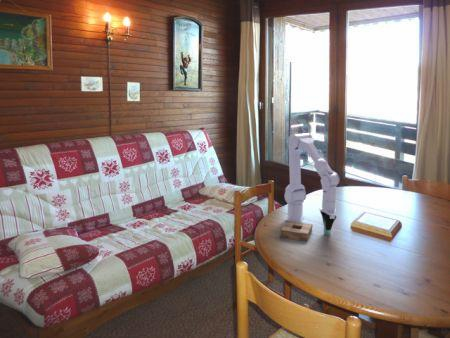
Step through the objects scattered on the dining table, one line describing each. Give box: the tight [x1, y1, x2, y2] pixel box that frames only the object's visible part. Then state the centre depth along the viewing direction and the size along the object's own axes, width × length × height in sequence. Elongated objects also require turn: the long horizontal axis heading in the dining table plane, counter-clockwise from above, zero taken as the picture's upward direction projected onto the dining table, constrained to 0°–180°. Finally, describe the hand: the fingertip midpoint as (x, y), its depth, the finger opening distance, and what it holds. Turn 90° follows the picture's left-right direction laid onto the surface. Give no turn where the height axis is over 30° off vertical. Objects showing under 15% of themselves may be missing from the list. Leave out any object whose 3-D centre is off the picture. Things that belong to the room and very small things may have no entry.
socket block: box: [280, 221, 313, 242], centre depth 179 cm, size 12×12×4 cm
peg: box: [323, 219, 332, 237], centre depth 178 cm, size 3×3×9 cm
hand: (327, 228), depth 178 cm, fingers closed on peg, 3 cm apart
